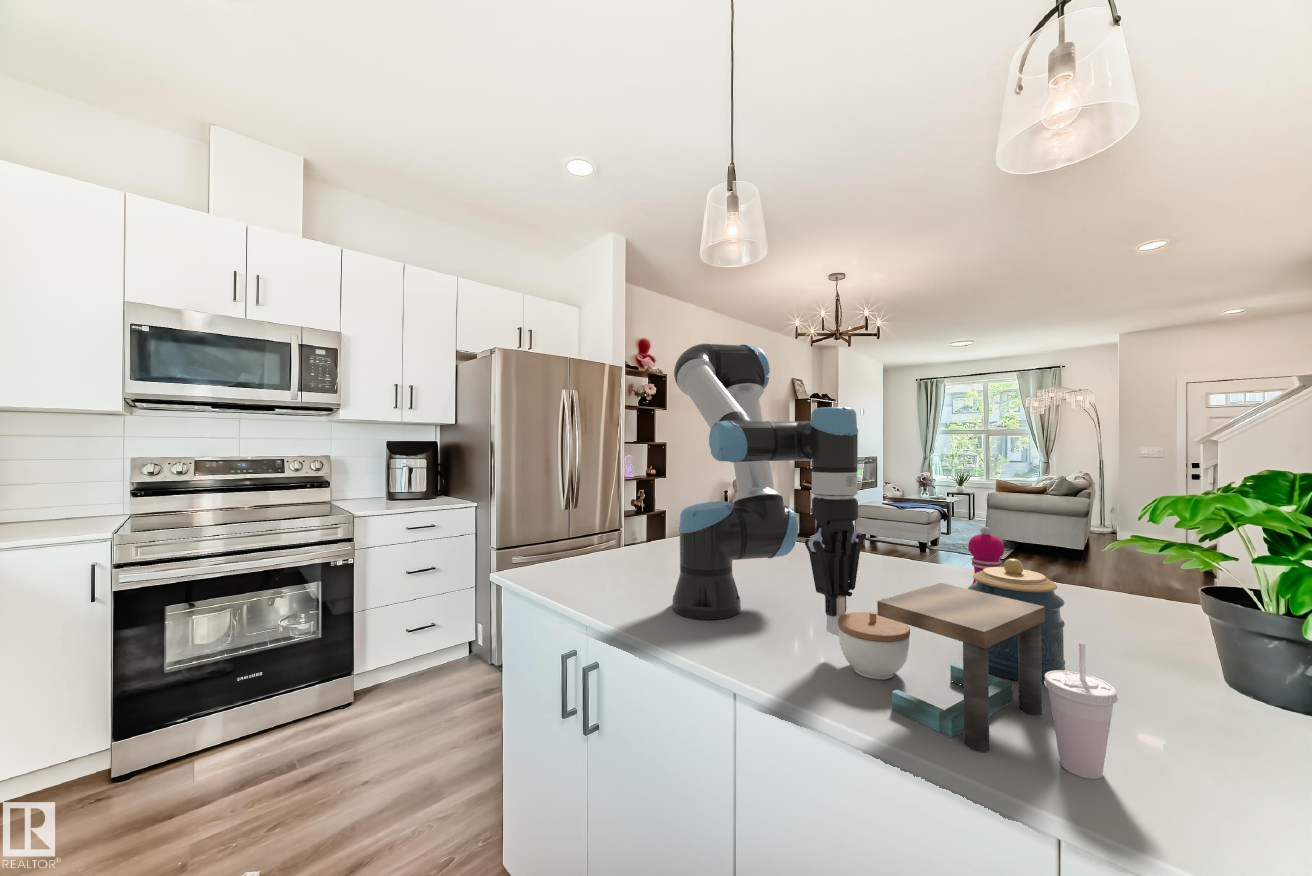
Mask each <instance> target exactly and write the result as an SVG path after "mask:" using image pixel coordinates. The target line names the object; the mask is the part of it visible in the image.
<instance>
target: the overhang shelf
mask: <svg viewBox="0 0 1312 876" xmlns="http://www.w3.org/2000/svg"><path fill="white" fill-rule="evenodd" d="M876 607H877V608H876V610H877V614H878V616H882V617H885V618H888V619H891V620H894V621H898V622H901V623H904V624H907V625H908V626H909V627H910V626H911V627H914V628H918V629H920V630H924V631H926V632H927V631H928V632H930V633H933V634H936V635H939V636H943V637H946V638H950V639H953V640H955V641H958V642H962V652H963V653H962V664H963V665H960V664H957V663H952V664H950V682H951V681H953V682H952V683H954V682H956V683H958V684H957V685H959V684H961V685H963V686H962V687H963V700H960V701H958V702H956V703H954V704H953V705H951V706H949V707H947V708H945V709H943V708H941V707H939V706H936V705H934V704H931V703H929V702H927V701H925V700H923V699H921V698H918V697H916V696H913V695H911V694H909V693H906V692H904V691H901V690H899V689H895V690H893V691H891V710H892V711H894V712H896V713H898V714H900V715H902V716H905V717H906V718H908V719H911V720H912V721H915V722H916V723H919V724H922V725H923V726H924V727H927V728H930V729H931V730H934V731H936V732H938V733H940V734H942V735H944V736H946V737H949V738H950V739H953V738H955V737H956V736H958V735H959V734H962V733H963V740H964V741H963V743H964V745H965V747H967V748H968V749H970V750H972V751H975V752H978V753H988V752H989V751H990V716H991V715H992V714H995V713H996V712H998V711H999V710H1001V709H1003V708H1004V707H1006V706H1007V704H1008V705H1010V704H1011V703H1012V701H1013V702H1014V698H1013V697H1014V691H1013V690H1014V688H1013V687H1014V686H1013V683H1011V682H1009V681H1007V680H1003V679H1000V678H998V677H995V676H992V675H989V672H988V647H989V646H992V645H994V644H996V643H998V642H1000V641H1003V640H1005V639H1007V638H1009V637H1012V636H1014V635H1016V634H1018V681H1017V682H1018V687H1017V688H1018V710H1019V711H1020V712H1022V713H1024V714H1026V715H1028V716H1033V717H1040V716H1042V715H1043V683H1042V656H1041V623H1042V622H1045V606H1041V605H1036V604H1032V603H1027V602H1023V601H1019V600H1014V599H1010V598H1005V597H1001V596H997V595H992V594H988V593H983V592H979V591H974V590H970V589H968V588H966V587H962V586H961V587H960V586H957V585H952V584H948V583H943V582H940V583H935V584H932V585H928V586H926V587H925V586H924V587H923V588H922V587H921V588H919V589H916V590H912V591H908V592H904V593H902V594H898V595H897V594H896V595H893V596H891V597H886V598H884V599H880V600H877V606H876ZM956 683H955V684H956ZM961 685H960V686H961Z"/></svg>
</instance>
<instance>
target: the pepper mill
mask: <svg viewBox="0 0 1312 876" xmlns="http://www.w3.org/2000/svg"><path fill="white" fill-rule="evenodd" d="M980 533H981V534H980ZM980 533H979V534H976V535H974V536H972V537H970V539H969V540H968V544H967V545H968V546H967V547H968V548H967V549H968V551H969V553H970V554H971V555H972V557H971V559H970V560H971V563H970V564H971V566H973V567H974V568H973V570H974V573H973V575H974V574H975V573H977V572H980V571H982V570H983V569H985V568H988V567H1002V560H1000V558H1002V556H1003V555H1005V546H1004V543H1003V542H1002V540H1001V539H1000V538H999V537H997V536H996V535H995V536H994V535H992V534H991V533H992V530H991V528H990V527H988V526H982V527H981V528H980ZM975 583H976V580H975V579H974V578H973V581H972V584H971V585H973V584H975Z"/></svg>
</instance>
